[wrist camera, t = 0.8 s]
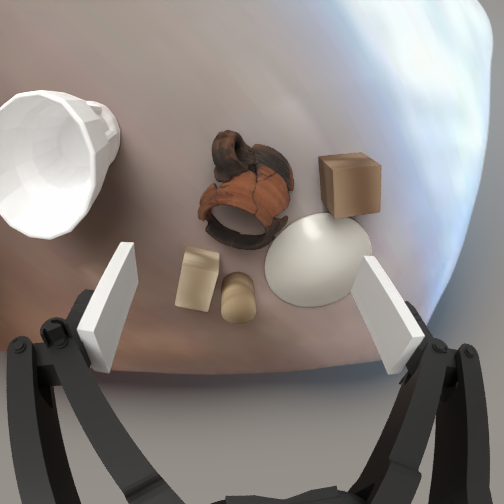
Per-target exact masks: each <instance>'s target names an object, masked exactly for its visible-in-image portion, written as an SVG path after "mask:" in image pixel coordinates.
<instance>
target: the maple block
mask: <svg viewBox="0 0 504 504" xmlns="http://www.w3.org/2000/svg"><path fill="white" fill-rule="evenodd" d="M219 254H220V253H216V252H211V251H207V250H202V249H197V248H192V247H188V246H186V250H185V254H184V259H183V263H182V268H181V274H180V279H179V284H178V290H177V296H176V301H175V306H180V307H184V308H190V309H195V310H200V311H205V312H208V309H209V305H210V302H211V298H212V295H213V291H214V287H215V284H216V280H217V277H218V273H219Z"/></svg>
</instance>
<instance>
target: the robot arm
mask: <svg viewBox="0 0 504 504" xmlns="http://www.w3.org/2000/svg"><path fill="white" fill-rule="evenodd" d="M138 283H139V282H138V274H137V267H136V259H135V250H134V243H133V242H121V243H120V244H119V246H118V248H117V250H116V252H115V253H114V255H113V257H112V259H111V261H110V262H109V264H108V266H107V268H106V270H105V272H104V274H103V276H102V278H101V280H100V281H99V283H98V285H97V287H96V289H95V290H86V289H85V290H84V291H83V292H82V293H81V294H80V295H79V296H78V297H77V299H76V301H75V303H74V305H73V307H72V309H71V311H70V313H69V315H68V317H67V319H66V320H65V319H62V318H57V317H55V318H51V319H49V320H47V321H46V322H45V323H44V324H43V325H42V326H41V329H40V335H41V337H42V339H43V341H44V343H35V344H32V342H31V340H30V339H29V338H28V337H25V336H19V337H17V338H15V339H13V340H12V341H11V342H10V344H9V346H8V350H7V411H8V425H9V435H10V443H11V451H12V458H13V464H14V469H15V475H16V480H17V484H18V489H19V493H20V497H21V501H22V504H81V502H80V499H79V496H78V493H77V490H76V487H75V484H74V480H73V477H72V474H71V470H70V467H69V463H68V460H67V456H66V452H65V447H64V443H63V439H62V434H61V429H60V424H59V420H58V414H57V408H56V402H55V394H54V387H53V386H57V385H58V386H59V385H62V387H63V389H64V391H65V393H66V395H67V398H68V400H69V402H70V404H71V406H72V408H73V410H74V412H75V414H76V416H77V418H78V420H79V422H80V424H81V426H82V428H83V430H84V432H85V433H86V435H87V437H88V438H89V441H90V442H91V444H92V446H93V447H94V449H95V451H96V453H97V454H98V456H99V457H100V459H101V461H102V462H103V464H104V465H105V467H106V469H107V470H108V472H109V473H110V475H111V476H112V478H113V479H114V480H115V482H116V483H117V485H118V486H119V488H120V489H121V490H122V492H123V493H124V495H125V497H126V500H127V501H128V503H129V504H185V503H184V502H183V501H182V500H181V499H180V498H179V496H178V495H177V494H176V493H175V492H174V491H173V490H172V489H171V487H170V486H169V485H168V484H167V483H166V482H165V481H164V479H163V478H162V477H161V476H160V475H159V474H158V473H157V472H156V470H155V469H154V468H153V467H152V465H151V464H150V463H149V461H148V460H147V459H146V458H145V456H144V455H143V454H142V452H141V451H140V450H139V448H138V447H137V445H136V444H135V443H134V441H133V440H132V438H131V437H130V435H129V434H128V433H127V431H126V430H125V428H124V427H123V425H122V424H121V422H120V421H119V419H118V418H117V416H116V415H115V413H114V411H113V410H112V408H111V406H110V405H109V403H108V402H107V400H106V398H105V397H104V395H103V393H102V391H101V390H100V388H99V386H98V385H97V383H96V381H95V379H94V377H93V375H92V373H91V372H90V370H89V368H90V365H92V367H93V369H94V371H98V372H104V373H110V369H111V366H112V362H113V359H114V356H115V352H116V349H117V346H118V342H119V339H120V336H121V333H122V330H123V327H124V323H125V320H126V317H127V314H128V311H129V308H130V306H131V303H132V300H133V297H134V294H135V291H136V289H137V286H138ZM351 294H352V296H353V298H354V300H355V302H356V304H357V306H358V308H359V311H360V313H361V315H362V317H363V319H364V321H365V323H366V326H367V328H368V330H369V332H370V334H371V336H372V339H373V341H374V343H375V345H376V348H377V350H378V352H379V354H380V357H381V359H382V361H383V363H384V366H385V368H386V370H387V373H388V374H396V373H400V372H401V371H402V370H403V368H404V366H405V365H406V367H407V369H408V372H407V373H406V374H405V376H404V377H403V378H402V380H401V381H400V382H399V384H401V383H402V385H401V388H400V391H399V393H398V396H397V398H396V401H395V404H394V406H393V408H392V411H391V413H390V415H389V418H388V421H387V422H386V425H385V427H384V429H383V431H382V434H381V436H380V438H379V440H378V442H377V444H376V446H375V448H374V451H373V452H372V454H371V456H370V458H369V461H368V462H367V464H366V466H365V468H364V470H363V472H362V474H361V475H360V477H359V479H358V480H357V482H356V483H355V484H354V485H353V486H352V487H351V488H350V490H349V491H348V492H345V491H339V490H337V486H332V487H327V488H321V489H315V490H310V491H307V492H305V493H302V494H300V495H297V496H294V497H291V498H288V499H283V500H282V499H274V498H267V497H261V496H255V495H253V496H226V498H225V500H221V501H217V502H214V503H212V504H411V501H412V500H413V498H414V495H415V493H416V490H417V488H418V486H419V483H420V480H421V473H420V472H418V469H419V466H420V463H421V460H422V457H423V455H424V452H425V449H426V446H427V443H428V439H429V436H430V433H431V430H432V426H433V423H434V419H435V415H436V432H435V449H434V461H433V471H432V480H431V487H430V494H429V502H428V504H493V502H492V498H491V493H490V488H489V482H490V450H489V449H490V448H489V430H488V429H489V428H488V416H487V407H486V398H485V391H484V384H483V378H482V372H481V366H480V361H479V357H478V353H477V351H476V349H475V348H474V347H473V346H471V345H469V344H462V345H461V346H460V348H459V349H458V350H454V349H449V348H448V347H447V345H446V344H445V343H444V342H443V341H441V340H440V339H437V338H433V337H432V335H431V333H430V331H429V330H428V328H427V326H426V325H425V323H424V322H423V321H422V318H421V317H420V315H419V314H418V312H417V310H416V309H415V307H414V306H412V305H411V304H410V303H409V302H408V301H403V299H402V297H401V296H400V294H399V293H398V291H397V290H396V288H395V287H394V285H393V283H392V282H391V280H390V279H389V277H388V276H387V274H386V273H385V271H384V270H383V268H382V267H381V266H380V264H379V263H378V261H377V260H376V258H375V257H374V256H363V258H362V261H361V264H360V267H359V270H358V272H357V275H356V278H355V281H354V284H353V286H352V289H351Z"/></svg>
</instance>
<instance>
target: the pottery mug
mask: <svg viewBox="0 0 504 504" xmlns="http://www.w3.org/2000/svg"><path fill="white" fill-rule="evenodd" d="M212 156H213V161H214V164H215V166H216V167H215V169H214V173H215V179H216V180H217V181H218V182H223V184H222V185H221V186H220V187H219V188H217V186H216V184H215V183H213V184H211V185H210V186H209V187H208V188H207V190H206V191H205V192H204V193H203V195H202V197H201V199H200V207H199V210H198V218H199V219H200V220H203V221H204V220H207V221H208V225H207V227H206V232H207V233H208V234H209V235H210V236H211V237H213V238H214V239H216V240H217V241H219V242H221V243H223V244H225V245H228V246H232V247H234V248H238V249H245V250H256V249H260V248H263V247H265V246H266V245H268V244H269V243H270V242H271V241H272V240H273V239H274V236H273V235H275V234H276V233H277V232H279V231H280V230H281V229H282V227H284V226H285V225H286V223H287V220H288V216H285V217H283V218H281V219H278V218H275V216H277V215H279V214H280V213H281V212H283V211H284V210H285V209H286V208H287V207H288V204H289V201H290V197H289V194H288V191H292V190H293V188H294V180H293V174H292V169H291V167H290V165H289V163H288V161H287V160H286V159H285V157H284V156H283V155H282V154H281V153H279V152H278V151H276V150H275V149H273V148H271V147H268V146H264V145H260V144H255V145H254V147H252V148H251V147H250V146H248V145H247V144H246V143H245V142H244V141H243V139H242V137H241V136H240V134H239V133H237V132H233V131H231V130H226V131H224V132H219V133H218V135H217V136H216V138H215V139H214V141H213V144H212ZM252 165H255V171H256V173H254V172H252V171H250V170H248V168H249V166H252ZM217 205H228V206H233V207H237V208H240V209H243V210H245V211H247V212H249V213H251V214H253V215H254V216H255V217H256V218H257V219H258V220H259V221H260V222H261V223H262V225H263V226H264V227H265V233H264V234H261V235H246V234H240V233H239V232H237V231H234V230H231V229H228V228H227V227H225V226H223V225H222V224H221V223H219V221H218V220H217V219H216V218H215V217H214V216H213V215H212V214H211V208H212V207H215V206H217Z"/></svg>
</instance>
